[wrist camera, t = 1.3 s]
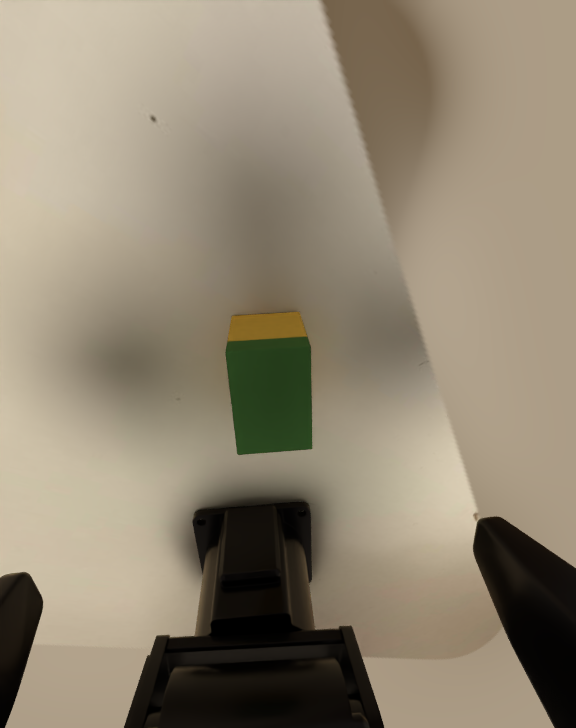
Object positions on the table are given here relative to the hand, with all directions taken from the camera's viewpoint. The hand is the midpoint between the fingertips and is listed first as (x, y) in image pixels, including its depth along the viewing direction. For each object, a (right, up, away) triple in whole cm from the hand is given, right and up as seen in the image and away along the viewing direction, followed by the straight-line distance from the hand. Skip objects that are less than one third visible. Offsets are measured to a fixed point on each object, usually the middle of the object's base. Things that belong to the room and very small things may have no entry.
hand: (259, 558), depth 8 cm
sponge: (0, +4, +10) cm, 11 cm away
